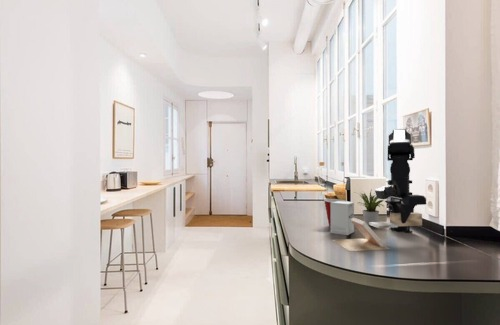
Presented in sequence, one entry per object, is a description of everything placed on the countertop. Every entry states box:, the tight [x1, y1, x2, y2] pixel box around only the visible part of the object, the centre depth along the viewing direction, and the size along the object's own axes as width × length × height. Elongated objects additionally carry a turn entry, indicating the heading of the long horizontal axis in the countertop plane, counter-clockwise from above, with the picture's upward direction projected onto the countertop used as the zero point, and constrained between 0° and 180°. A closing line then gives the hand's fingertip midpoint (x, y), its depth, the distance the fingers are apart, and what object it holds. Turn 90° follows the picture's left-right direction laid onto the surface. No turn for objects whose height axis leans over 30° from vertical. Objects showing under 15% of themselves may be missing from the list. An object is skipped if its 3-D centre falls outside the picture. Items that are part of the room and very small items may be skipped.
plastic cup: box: [323, 198, 349, 228], centre depth 135 cm, size 11×11×12 cm
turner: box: [368, 212, 423, 229], centre depth 105 cm, size 17×6×4 cm, turn 98°
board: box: [332, 237, 391, 252], centre depth 104 cm, size 14×14×1 cm
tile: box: [351, 216, 385, 246], centre depth 104 cm, size 2×8×10 cm
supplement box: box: [330, 200, 355, 236], centre depth 122 cm, size 7×7×13 cm
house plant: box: [354, 188, 385, 226], centre depth 139 cm, size 14×14×16 cm
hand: (400, 222), depth 105 cm, fingers closed on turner, 3 cm apart
